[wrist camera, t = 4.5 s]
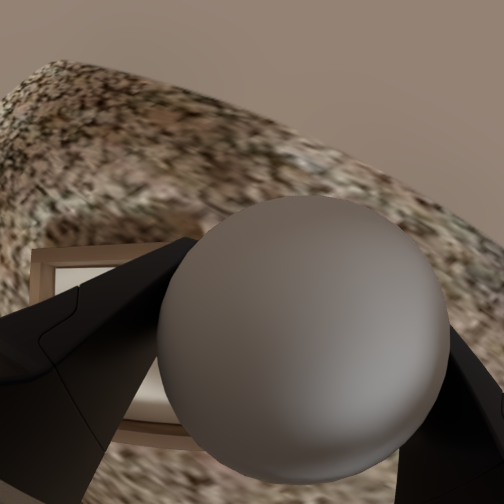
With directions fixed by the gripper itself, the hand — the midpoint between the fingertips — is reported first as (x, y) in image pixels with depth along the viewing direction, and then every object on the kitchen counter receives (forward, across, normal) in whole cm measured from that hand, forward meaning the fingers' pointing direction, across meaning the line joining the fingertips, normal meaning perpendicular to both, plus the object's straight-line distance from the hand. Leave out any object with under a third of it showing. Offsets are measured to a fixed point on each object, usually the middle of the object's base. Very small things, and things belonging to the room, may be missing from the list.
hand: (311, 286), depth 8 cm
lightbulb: (+4, 0, +6) cm, 7 cm away
